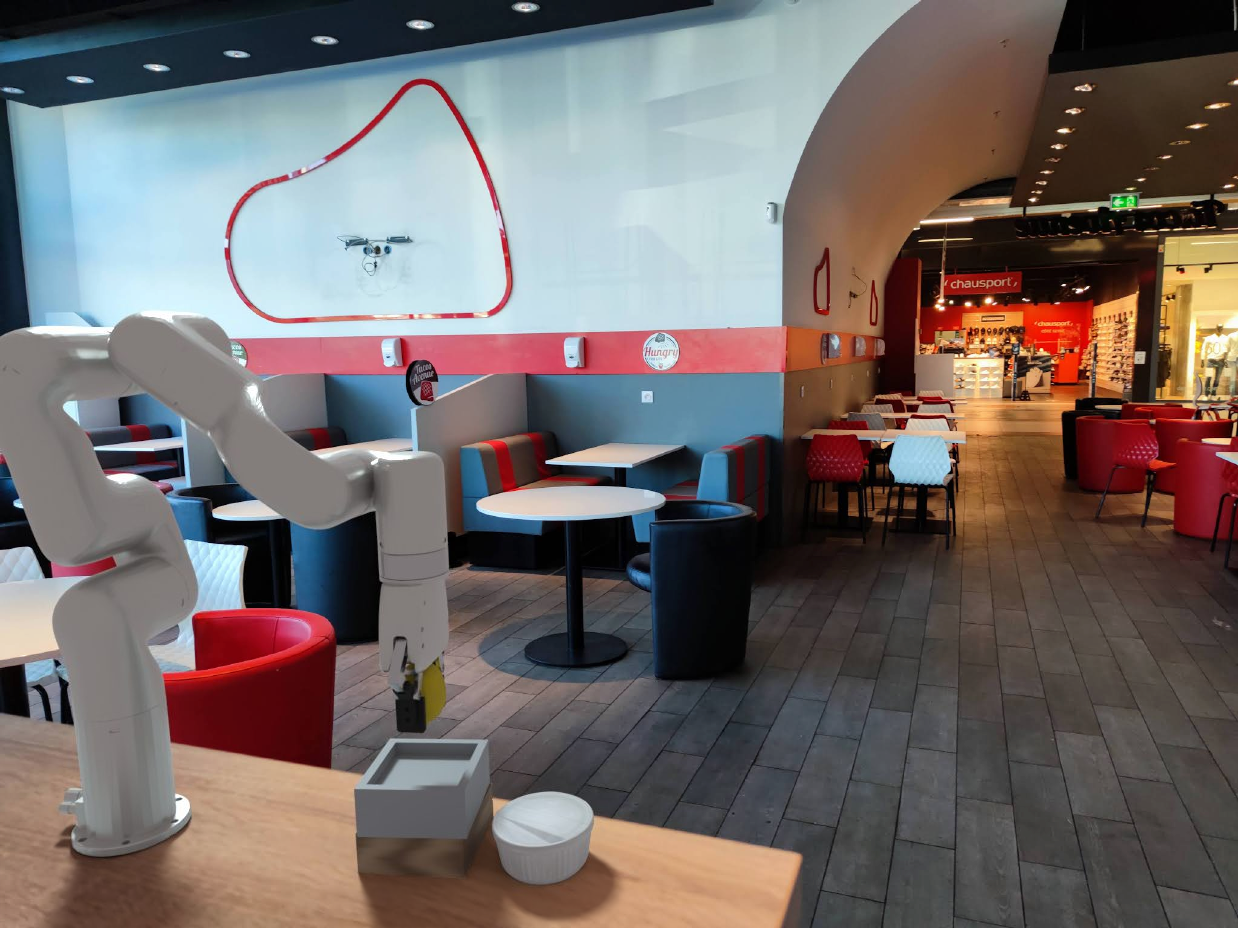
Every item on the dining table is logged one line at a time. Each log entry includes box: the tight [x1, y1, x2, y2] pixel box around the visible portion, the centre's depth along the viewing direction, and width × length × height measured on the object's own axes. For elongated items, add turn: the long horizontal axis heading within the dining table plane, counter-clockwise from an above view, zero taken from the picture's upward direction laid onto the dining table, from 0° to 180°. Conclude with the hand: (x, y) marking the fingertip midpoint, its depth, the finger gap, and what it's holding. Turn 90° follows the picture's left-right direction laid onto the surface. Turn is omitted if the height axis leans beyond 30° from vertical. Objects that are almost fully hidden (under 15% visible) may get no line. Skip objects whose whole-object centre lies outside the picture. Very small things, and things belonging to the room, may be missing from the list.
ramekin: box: [491, 791, 595, 886], centre depth 95 cm, size 11×11×5 cm
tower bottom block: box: [355, 782, 495, 879], centre depth 99 cm, size 12×12×5 cm
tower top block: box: [353, 738, 491, 839], centre depth 98 cm, size 12×12×6 cm
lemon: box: [404, 664, 447, 726], centre depth 97 cm, size 6×6×8 cm
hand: (422, 717), depth 97 cm, fingers closed on lemon, 5 cm apart
